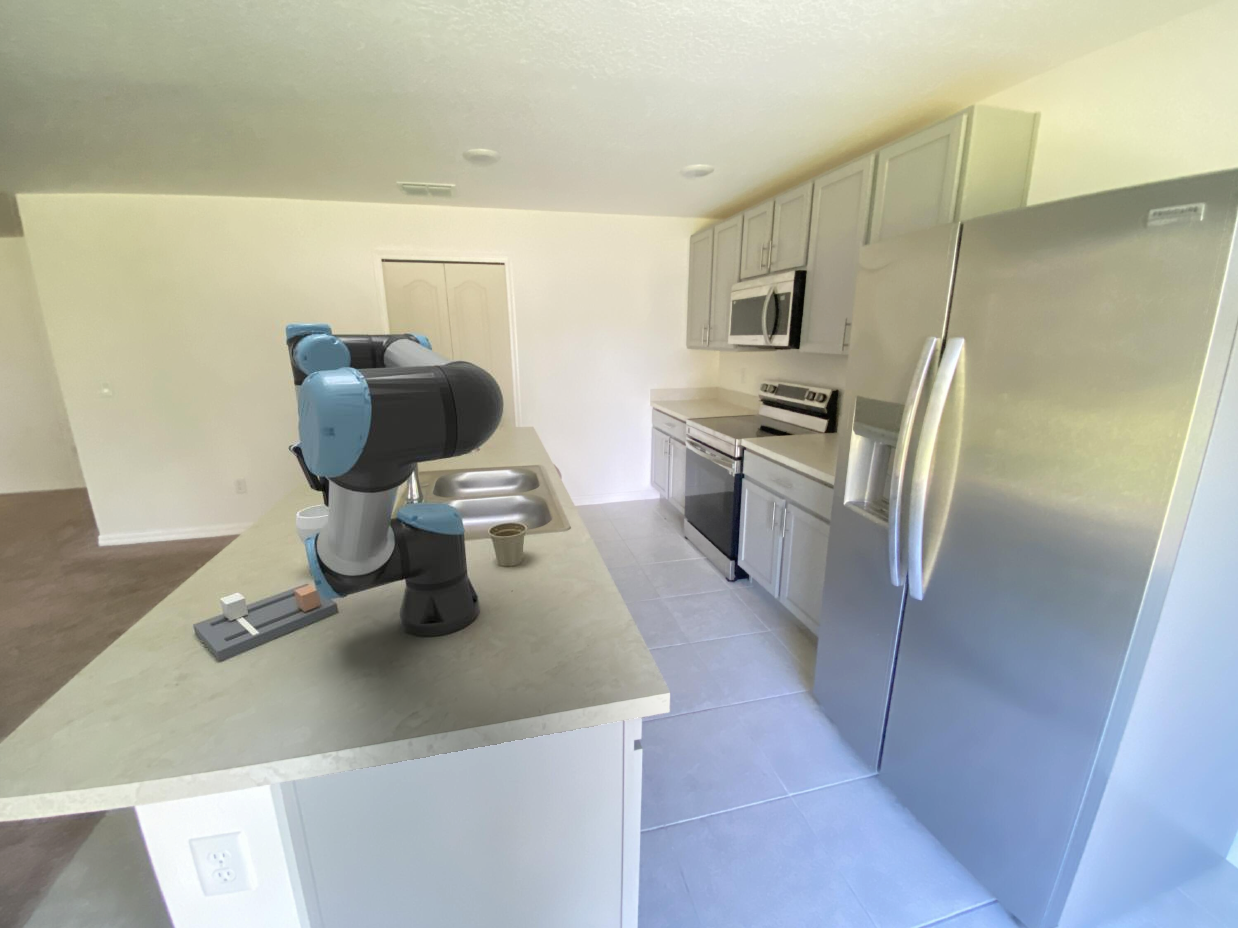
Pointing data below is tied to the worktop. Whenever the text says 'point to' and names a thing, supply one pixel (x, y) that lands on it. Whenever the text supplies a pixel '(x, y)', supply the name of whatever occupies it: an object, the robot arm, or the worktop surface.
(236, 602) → the block
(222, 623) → the console
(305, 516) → the cup
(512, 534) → the flower pot
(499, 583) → the worktop surface
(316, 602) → the fader front
